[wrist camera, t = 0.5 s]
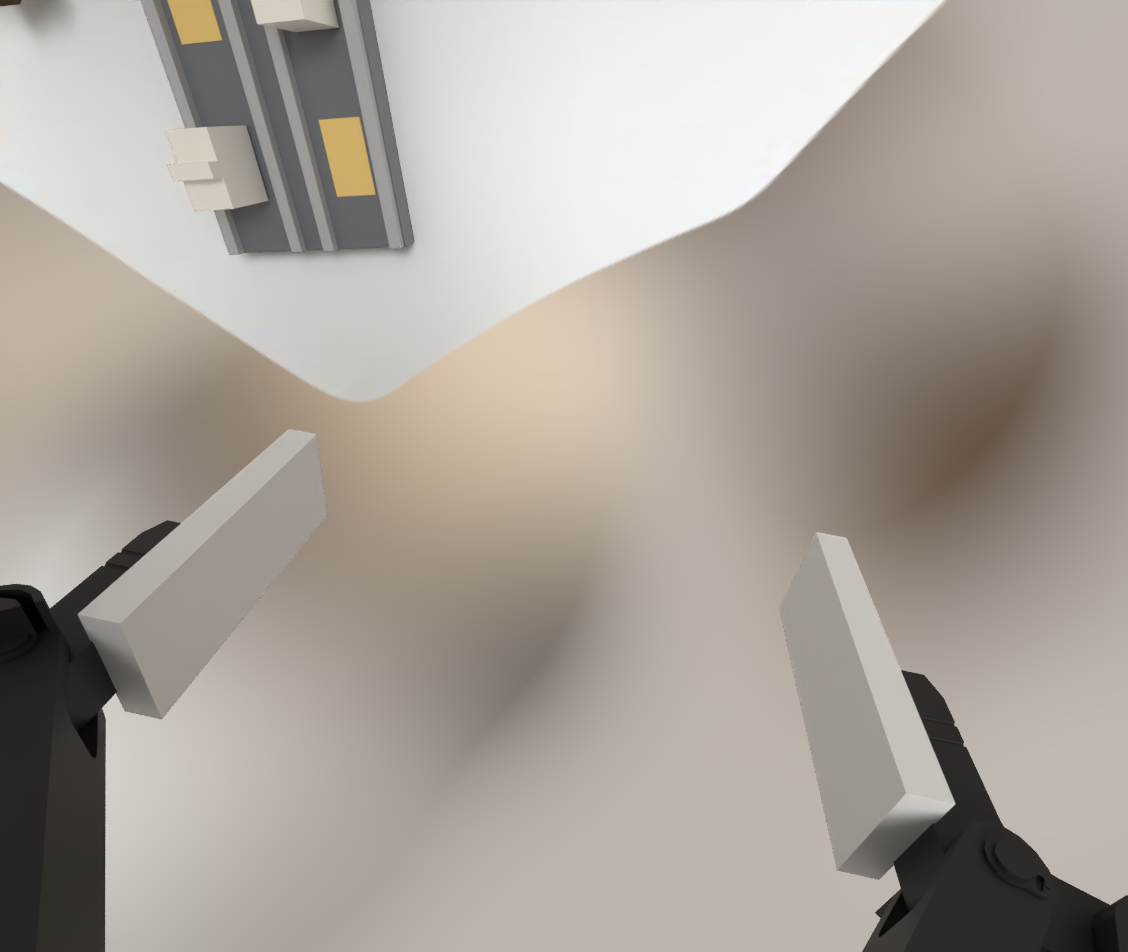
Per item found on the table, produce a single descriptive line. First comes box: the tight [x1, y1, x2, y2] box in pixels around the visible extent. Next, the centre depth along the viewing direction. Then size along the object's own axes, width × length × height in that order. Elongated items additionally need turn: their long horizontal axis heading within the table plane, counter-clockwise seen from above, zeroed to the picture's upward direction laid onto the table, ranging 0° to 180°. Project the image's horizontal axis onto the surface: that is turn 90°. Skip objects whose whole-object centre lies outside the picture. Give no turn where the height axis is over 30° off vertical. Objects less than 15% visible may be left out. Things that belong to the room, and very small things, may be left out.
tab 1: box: [165, 125, 269, 211], centre depth 33 cm, size 4×2×4 cm, turn 4°
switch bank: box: [141, 0, 414, 255], centre depth 33 cm, size 18×12×2 cm, turn 4°
